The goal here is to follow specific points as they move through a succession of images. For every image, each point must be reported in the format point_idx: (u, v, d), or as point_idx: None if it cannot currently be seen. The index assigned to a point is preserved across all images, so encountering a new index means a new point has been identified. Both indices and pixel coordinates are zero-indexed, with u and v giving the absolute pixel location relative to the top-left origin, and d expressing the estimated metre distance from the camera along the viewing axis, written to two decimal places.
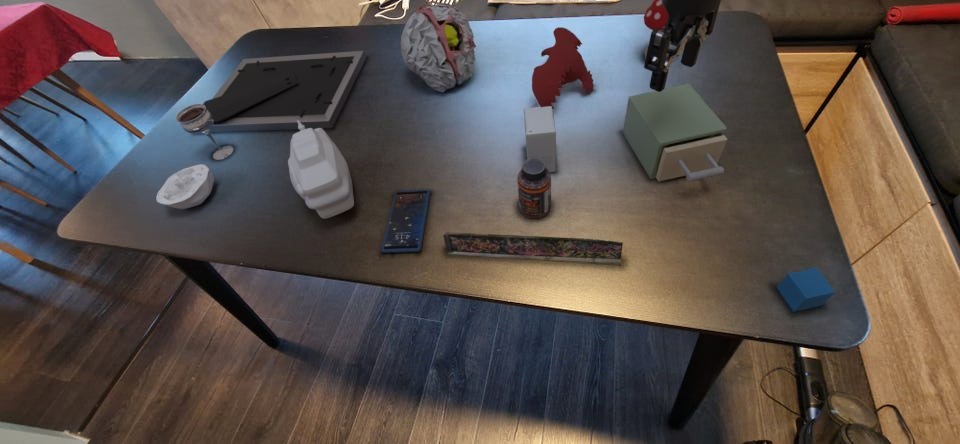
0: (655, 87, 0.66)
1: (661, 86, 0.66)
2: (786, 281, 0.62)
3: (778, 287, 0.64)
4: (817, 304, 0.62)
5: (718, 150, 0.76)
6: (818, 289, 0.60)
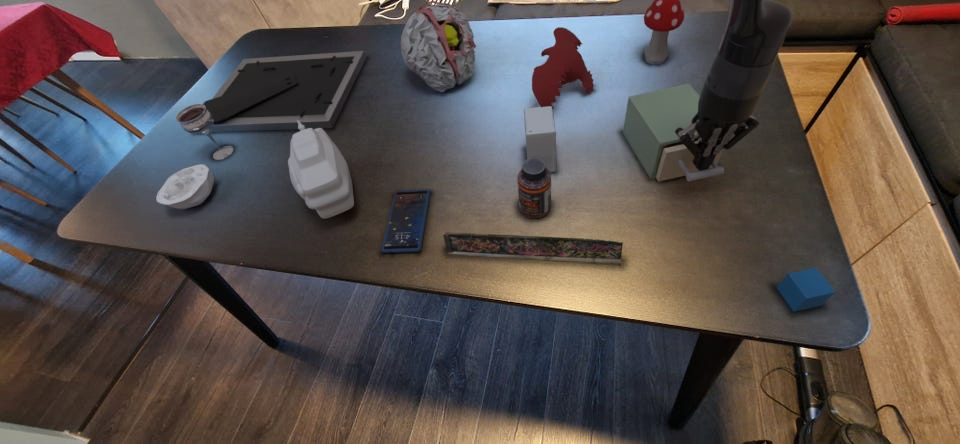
0: (695, 165, 0.73)
1: (701, 167, 0.73)
2: (786, 281, 0.62)
3: (778, 287, 0.64)
4: (817, 304, 0.62)
5: None
6: (818, 289, 0.60)
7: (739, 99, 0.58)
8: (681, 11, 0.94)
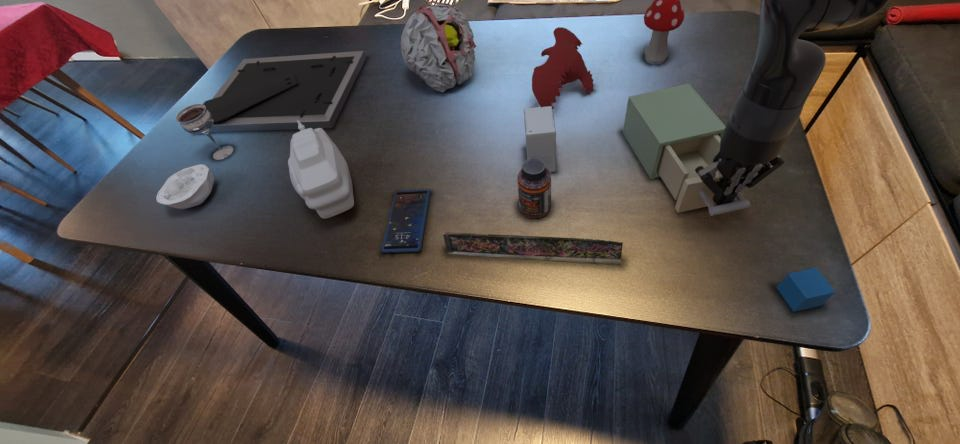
0: (715, 203, 0.70)
1: None
2: (786, 281, 0.62)
3: (778, 287, 0.64)
4: (817, 304, 0.62)
5: None
6: (818, 289, 0.60)
7: (766, 141, 0.55)
8: (681, 11, 0.94)
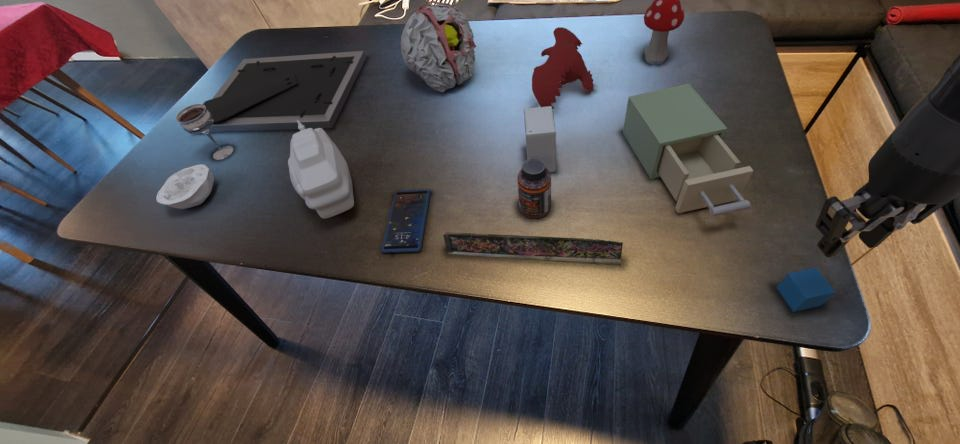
0: (822, 250, 0.52)
1: (831, 253, 0.52)
2: (786, 281, 0.62)
3: (778, 287, 0.64)
4: (817, 304, 0.62)
5: (743, 181, 0.71)
6: (818, 289, 0.60)
7: None
8: (681, 11, 0.94)
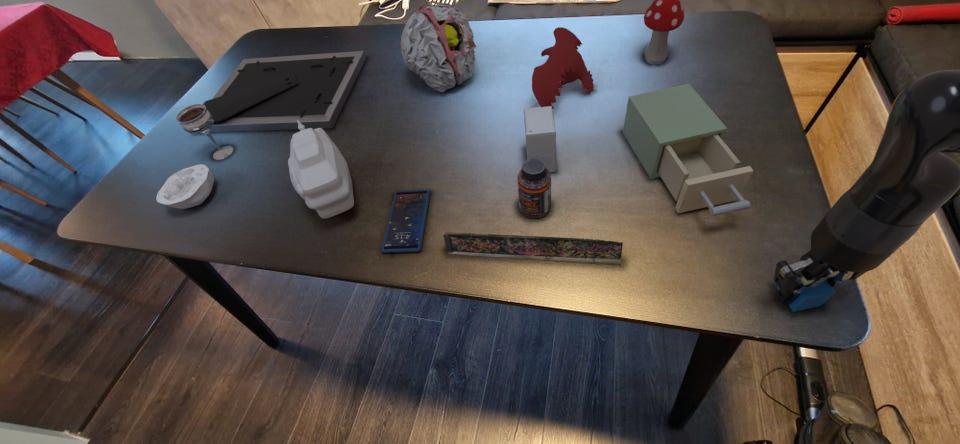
0: (781, 298, 0.62)
1: (788, 301, 0.62)
2: None
3: (778, 287, 0.64)
4: (817, 304, 0.62)
5: (743, 181, 0.71)
6: (818, 289, 0.60)
7: (875, 254, 0.48)
8: (681, 11, 0.94)
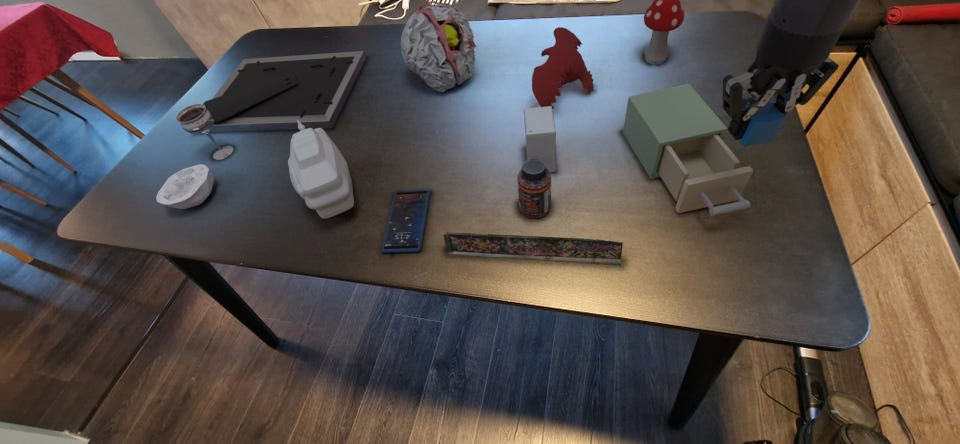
0: (731, 133, 0.60)
1: (739, 134, 0.60)
2: None
3: None
4: (768, 137, 0.59)
5: (743, 181, 0.71)
6: (768, 116, 0.57)
7: (817, 36, 0.46)
8: (681, 11, 0.94)
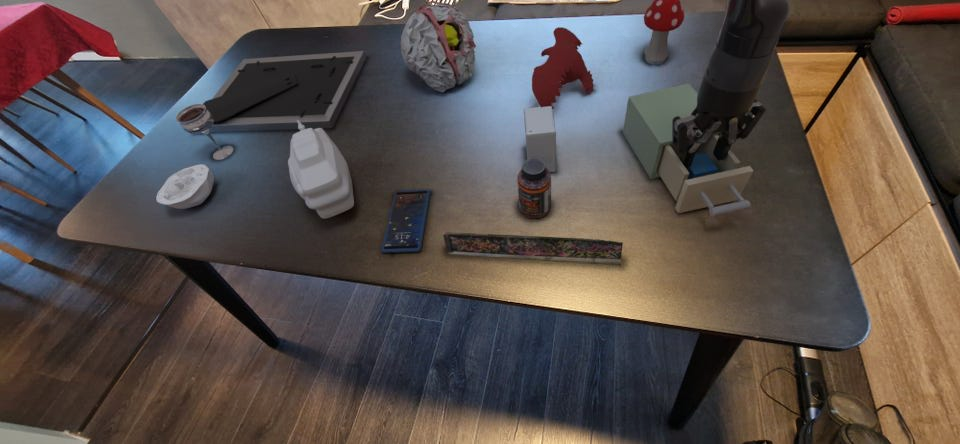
0: None
1: (687, 163, 0.72)
2: None
3: None
4: None
5: (743, 181, 0.71)
6: (705, 167, 0.73)
7: (738, 92, 0.58)
8: (681, 11, 0.94)
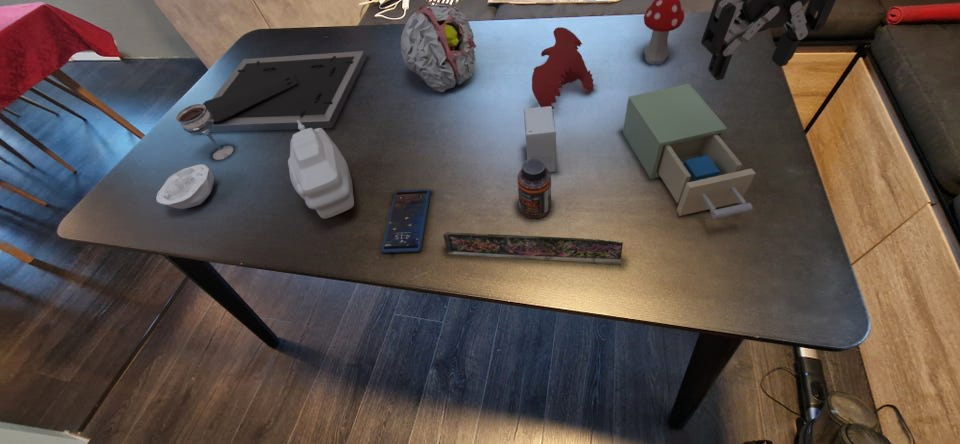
0: (712, 72, 0.56)
1: (719, 73, 0.55)
2: None
3: None
4: None
5: (745, 184, 0.70)
6: (707, 170, 0.73)
7: None
8: (681, 11, 0.94)
